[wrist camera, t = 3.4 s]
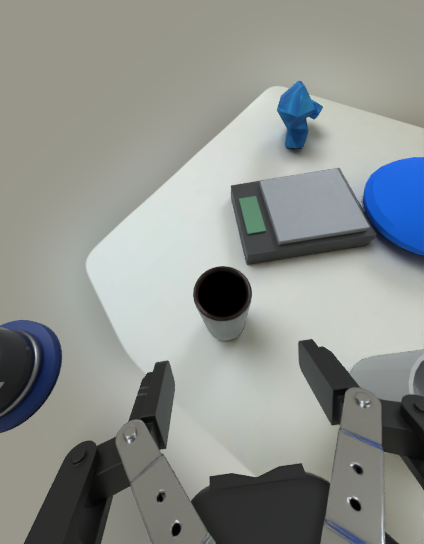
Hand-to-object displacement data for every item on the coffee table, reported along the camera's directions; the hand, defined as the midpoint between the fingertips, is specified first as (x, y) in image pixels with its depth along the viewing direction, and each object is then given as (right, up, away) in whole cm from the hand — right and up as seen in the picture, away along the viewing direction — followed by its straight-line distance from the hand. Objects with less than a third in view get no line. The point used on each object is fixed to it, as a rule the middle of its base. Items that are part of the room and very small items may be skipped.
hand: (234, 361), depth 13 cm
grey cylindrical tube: (0, 0, +13) cm, 13 cm away
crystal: (+13, +29, +26) cm, 41 cm away
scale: (+10, +13, +18) cm, 25 cm away
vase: (+27, +13, +17) cm, 34 cm away
